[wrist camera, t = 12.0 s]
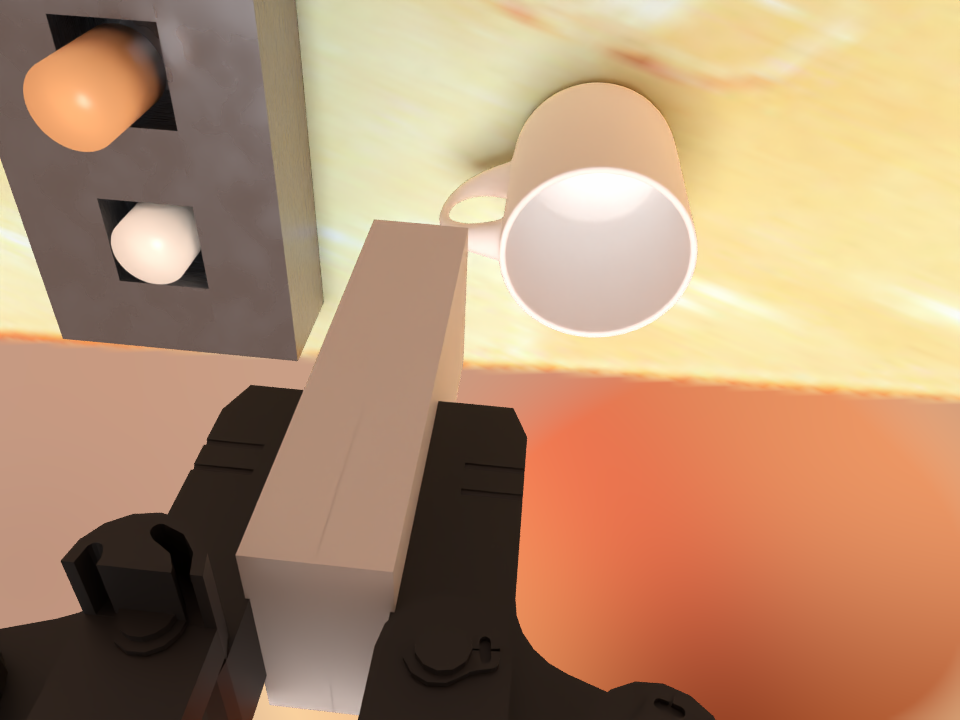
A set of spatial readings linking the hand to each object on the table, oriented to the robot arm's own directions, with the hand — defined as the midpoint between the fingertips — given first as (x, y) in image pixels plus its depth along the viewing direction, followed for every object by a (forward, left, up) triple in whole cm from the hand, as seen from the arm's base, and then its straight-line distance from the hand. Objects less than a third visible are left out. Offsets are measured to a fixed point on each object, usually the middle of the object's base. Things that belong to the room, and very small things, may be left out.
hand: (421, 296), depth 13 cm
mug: (+11, +3, -31) cm, 33 cm away
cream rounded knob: (+15, -18, -29) cm, 37 cm away
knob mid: (+6, -18, -25) cm, 32 cm away
